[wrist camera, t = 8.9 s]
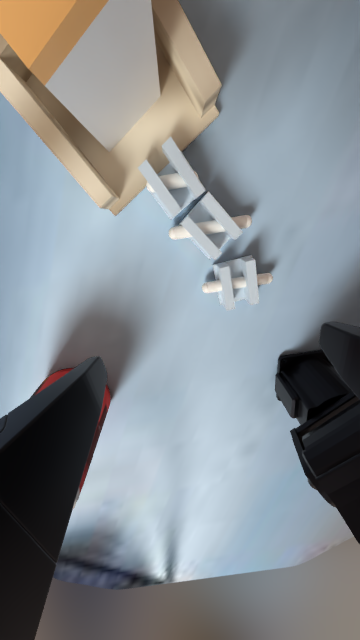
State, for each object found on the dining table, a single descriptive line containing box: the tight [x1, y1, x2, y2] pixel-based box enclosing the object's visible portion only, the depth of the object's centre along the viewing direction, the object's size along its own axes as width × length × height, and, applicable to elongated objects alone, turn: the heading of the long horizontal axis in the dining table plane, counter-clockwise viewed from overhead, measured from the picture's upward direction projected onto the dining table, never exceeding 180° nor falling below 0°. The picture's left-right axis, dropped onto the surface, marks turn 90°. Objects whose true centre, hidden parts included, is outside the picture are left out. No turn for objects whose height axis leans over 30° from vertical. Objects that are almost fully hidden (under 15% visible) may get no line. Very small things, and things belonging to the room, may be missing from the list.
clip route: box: [138, 137, 273, 311], centre depth 18 cm, size 6×14×2 cm, turn 32°
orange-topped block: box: [0, 0, 161, 152], centre depth 10 cm, size 4×5×10 cm
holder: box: [0, 0, 222, 216], centre depth 14 cm, size 10×10×3 cm
